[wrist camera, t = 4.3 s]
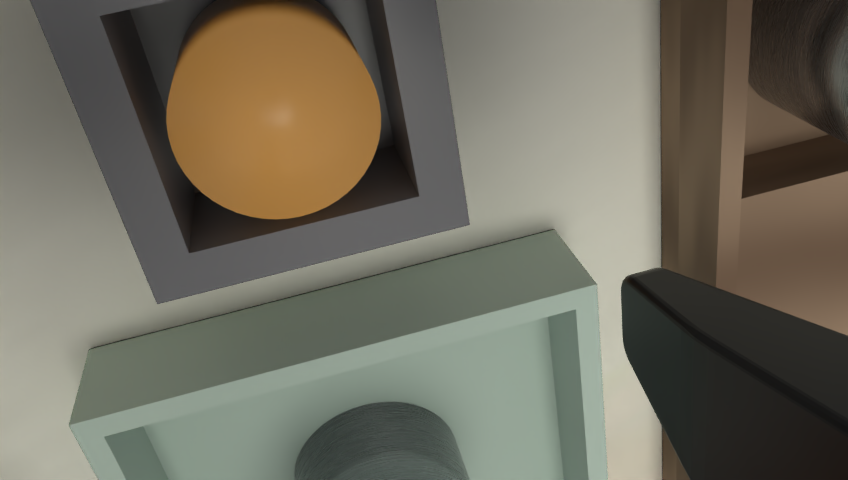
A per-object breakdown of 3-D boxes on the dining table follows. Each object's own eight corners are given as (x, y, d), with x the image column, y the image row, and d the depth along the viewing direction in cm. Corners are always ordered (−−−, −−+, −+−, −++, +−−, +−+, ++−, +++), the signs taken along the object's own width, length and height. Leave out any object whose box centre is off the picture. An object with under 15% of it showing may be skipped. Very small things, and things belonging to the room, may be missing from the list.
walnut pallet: (862, 428, 29) (922, 486, 27) (662, 488, 29) (705, 554, 26) (975, -203, 19) (1093, -207, 16) (660, -138, 18) (732, -130, 15)
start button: (374, 139, 18) (397, 192, 16) (208, 179, 18) (204, 240, 15) (338, -32, 16) (358, -4, 14) (150, 8, 16) (134, 45, 13)
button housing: (434, 164, 20) (469, 224, 17) (168, 228, 19) (157, 304, 16) (385, -126, 17) (418, -113, 14) (57, -60, 16) (17, -31, 13)
